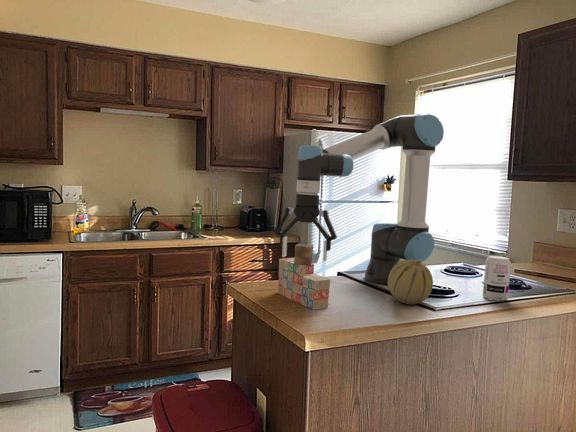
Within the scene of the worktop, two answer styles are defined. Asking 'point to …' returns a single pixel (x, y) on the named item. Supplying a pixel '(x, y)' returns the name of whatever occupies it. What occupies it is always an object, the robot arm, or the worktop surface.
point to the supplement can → (496, 278)
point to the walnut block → (303, 254)
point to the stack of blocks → (303, 284)
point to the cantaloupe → (410, 282)
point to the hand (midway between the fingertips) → (304, 258)
